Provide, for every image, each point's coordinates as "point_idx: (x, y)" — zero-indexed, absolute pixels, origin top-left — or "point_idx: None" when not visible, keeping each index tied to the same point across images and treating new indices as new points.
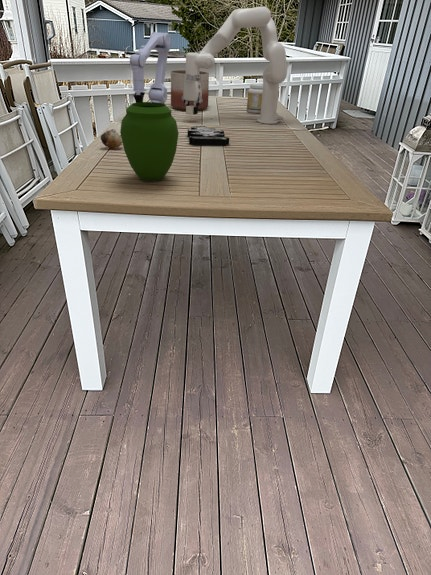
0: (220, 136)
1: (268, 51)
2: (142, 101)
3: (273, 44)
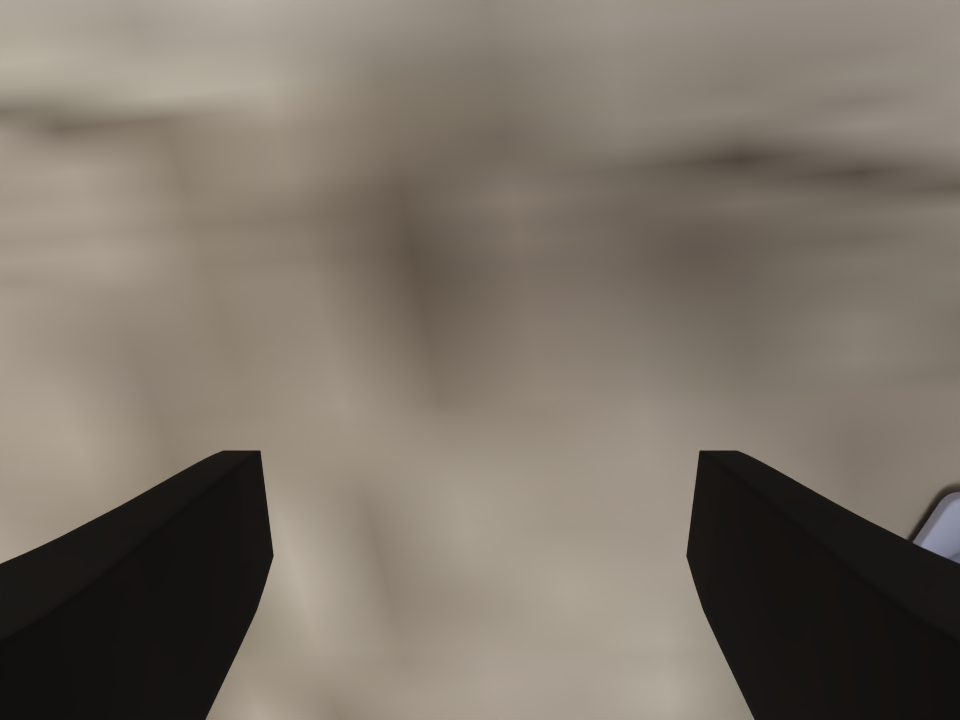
0: None
1: None
2: (748, 699)
3: None
